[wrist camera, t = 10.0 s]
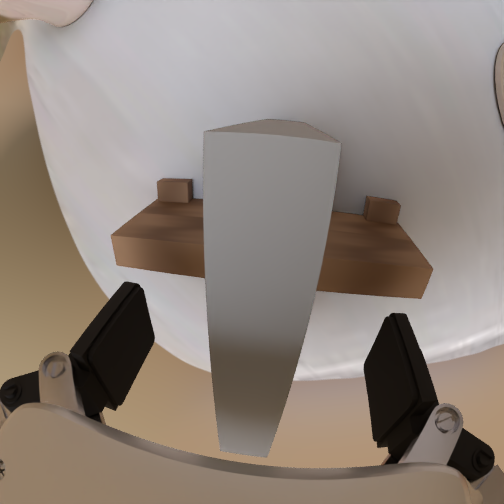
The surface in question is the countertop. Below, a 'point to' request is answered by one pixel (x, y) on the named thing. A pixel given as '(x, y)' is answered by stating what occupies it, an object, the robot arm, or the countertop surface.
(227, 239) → the gray square panel
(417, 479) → the robot arm
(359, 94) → the countertop surface
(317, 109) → the countertop surface
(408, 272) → the walnut slotted plate
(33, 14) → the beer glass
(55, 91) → the countertop surface
